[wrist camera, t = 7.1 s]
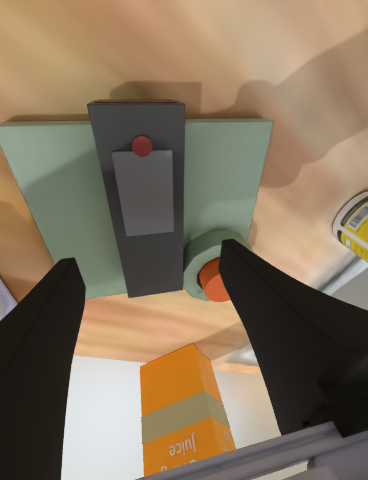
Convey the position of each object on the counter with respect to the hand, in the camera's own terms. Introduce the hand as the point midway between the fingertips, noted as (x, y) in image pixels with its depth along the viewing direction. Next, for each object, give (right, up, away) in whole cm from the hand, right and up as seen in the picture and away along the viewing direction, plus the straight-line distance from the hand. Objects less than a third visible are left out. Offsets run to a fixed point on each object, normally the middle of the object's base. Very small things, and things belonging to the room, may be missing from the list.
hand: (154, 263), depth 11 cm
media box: (-1, +3, +7) cm, 7 cm away
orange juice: (0, -18, +23) cm, 29 cm away
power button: (+5, -2, +8) cm, 9 cm away
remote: (-1, +3, +5) cm, 6 cm away
